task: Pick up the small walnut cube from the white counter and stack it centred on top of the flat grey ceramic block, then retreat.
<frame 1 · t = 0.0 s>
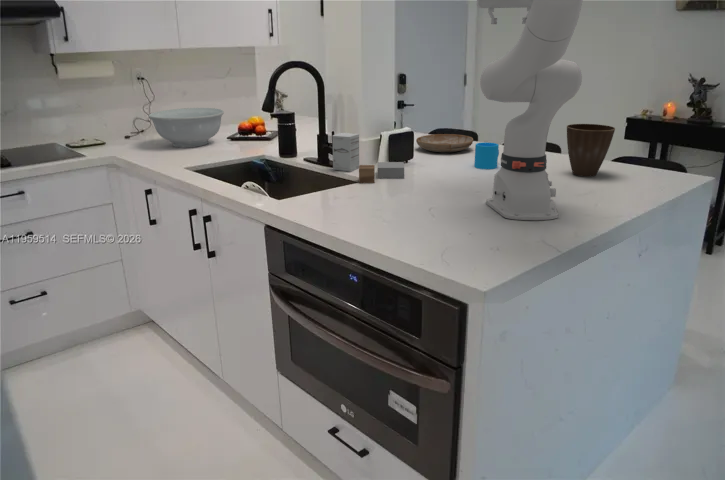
hand: (509, 24, 167), 48 cm above the worktop, fingers open, 8 cm apart
supplement box: (346, 169, 199), on the worktop
bowl: (190, 145, 251), on the worktop
grey base: (390, 176, 189), on the worktop
plant pot: (584, 174, 187), on the worktop
walnut cube: (366, 181, 182), on the worktop
ceramic bowl: (444, 150, 231), on the worktop
mug: (488, 166, 201), on the worktop
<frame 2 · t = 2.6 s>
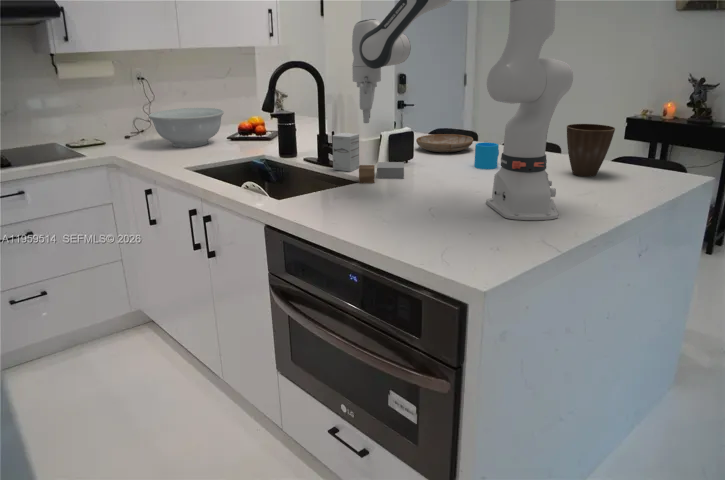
hand: (366, 120, 175), 20 cm above the worktop, fingers open, 8 cm apart
nothing on the worktop moved.
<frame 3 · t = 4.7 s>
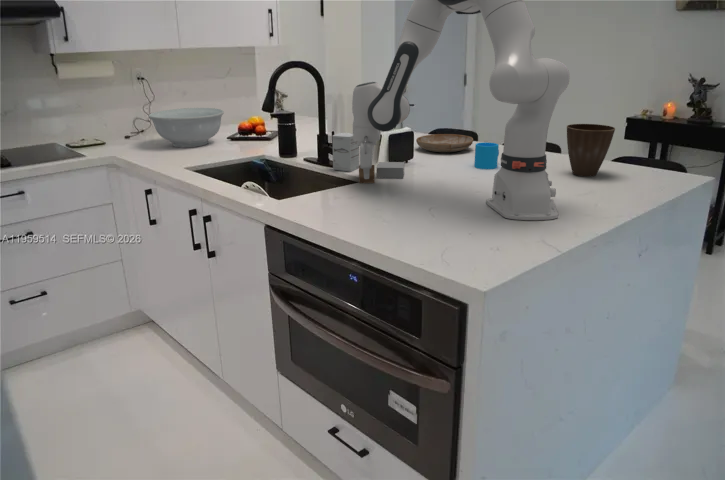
hand: (366, 176, 181), 2 cm above the worktop, fingers closed on walnut cube, 5 cm apart
walnut cube: (366, 181, 182), on the worktop, touching gripper
everything else where it was.
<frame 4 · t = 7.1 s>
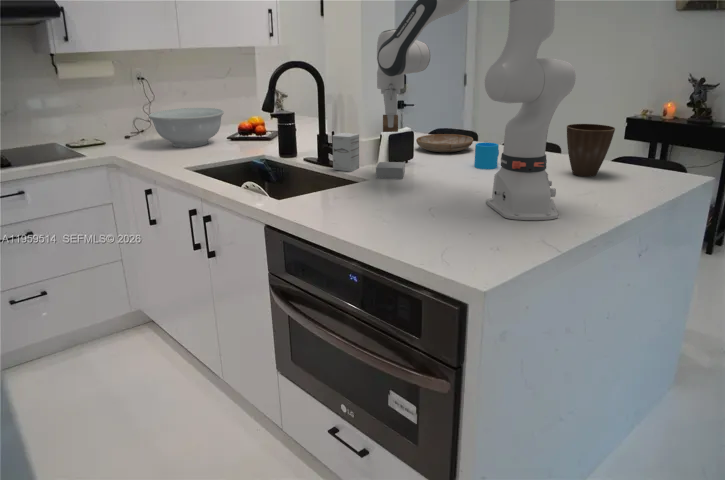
hand: (390, 125, 183), 17 cm above the worktop, fingers closed on walnut cube, 5 cm apart
walnut cube: (390, 130, 184), point 15 cm above the worktop, touching gripper
everything else where it was.
when the fingers open (7 cm above the worktop, at t = 9.5 s): walnut cube drops 1 cm, resting on grey base.
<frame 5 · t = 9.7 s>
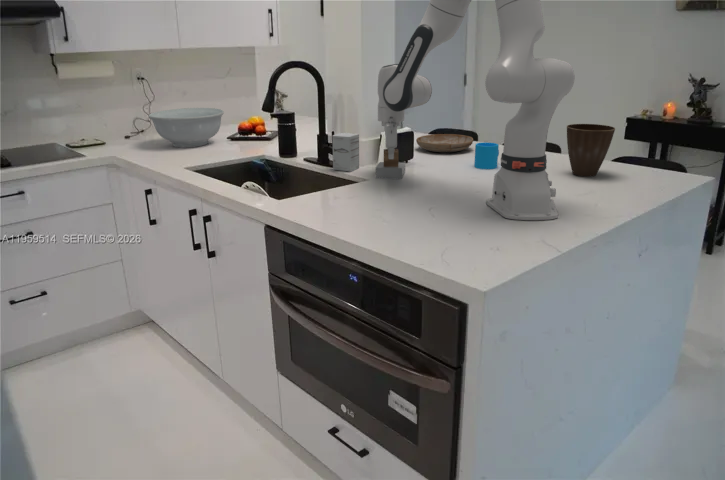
hand: (390, 156, 187), 7 cm above the worktop, fingers open, 7 cm apart
grey base: (390, 176, 189), on the worktop, touching walnut cube
walnut cube: (390, 165, 188), point 4 cm above the worktop, touching grey base
everything else where it was.
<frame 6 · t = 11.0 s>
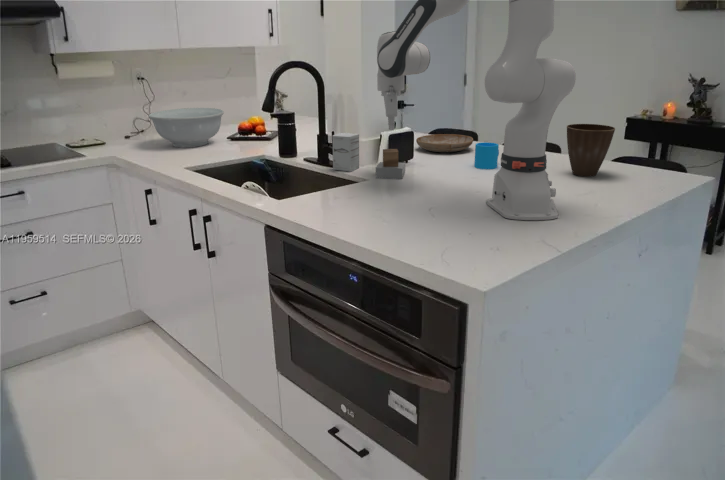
hand: (391, 127, 183), 16 cm above the worktop, fingers open, 8 cm apart
nothing on the worktop moved.
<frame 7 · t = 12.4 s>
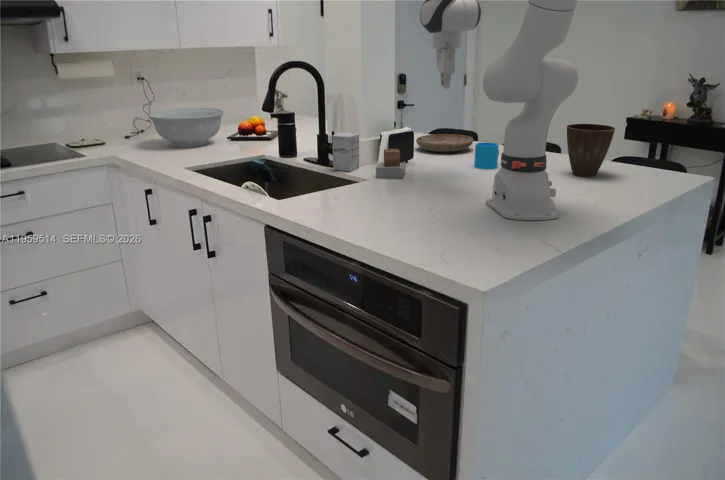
hand: (445, 87, 181), 29 cm above the worktop, fingers open, 8 cm apart
nothing on the worktop moved.
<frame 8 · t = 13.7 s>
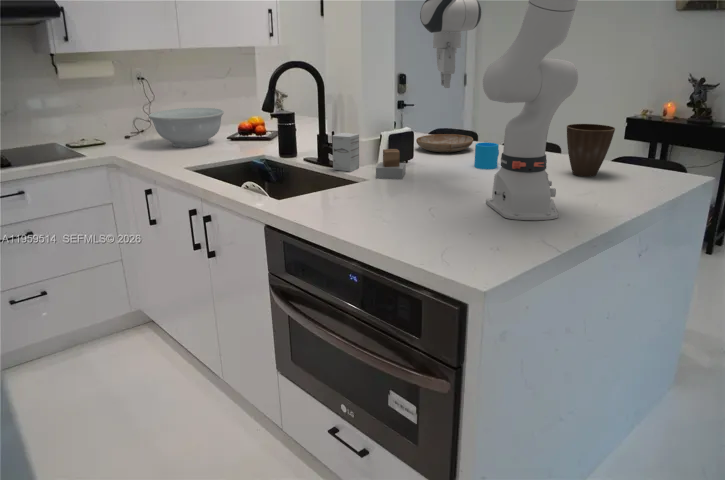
hand: (445, 86, 181), 29 cm above the worktop, fingers open, 8 cm apart
grey base: (391, 176, 189), on the worktop
walnut cube: (391, 165, 188), point 4 cm above the worktop
everything else where it was.
at the end: walnut cube 0.3 cm off-centre on the grey base, point 4.0 cm above the grey base's base; walnut cube tilted 0°; grey base moved 0.6 cm from its start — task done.
